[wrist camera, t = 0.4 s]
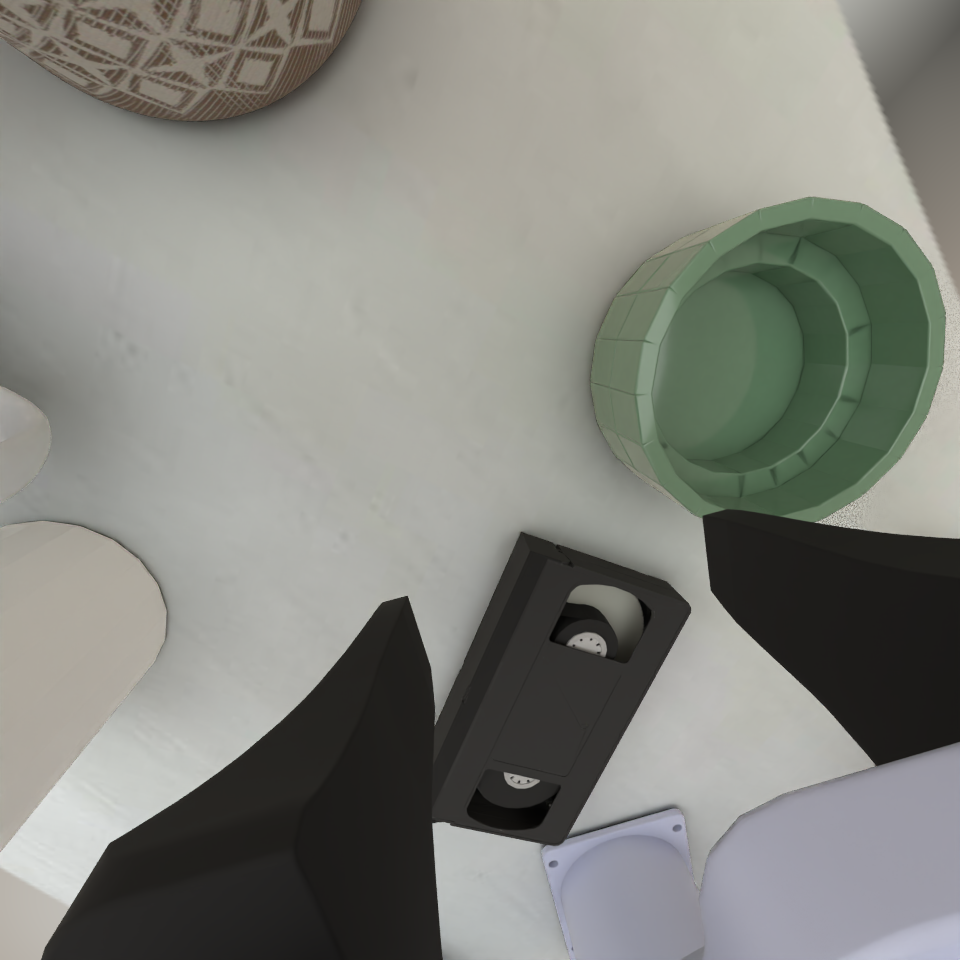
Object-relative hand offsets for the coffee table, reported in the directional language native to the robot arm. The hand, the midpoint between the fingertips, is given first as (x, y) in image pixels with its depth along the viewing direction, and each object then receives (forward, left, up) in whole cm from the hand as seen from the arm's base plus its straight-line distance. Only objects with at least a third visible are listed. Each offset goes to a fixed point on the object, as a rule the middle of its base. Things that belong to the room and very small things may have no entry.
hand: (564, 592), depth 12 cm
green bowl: (+2, -9, -10) cm, 14 cm away
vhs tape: (-11, +1, -10) cm, 15 cm away
